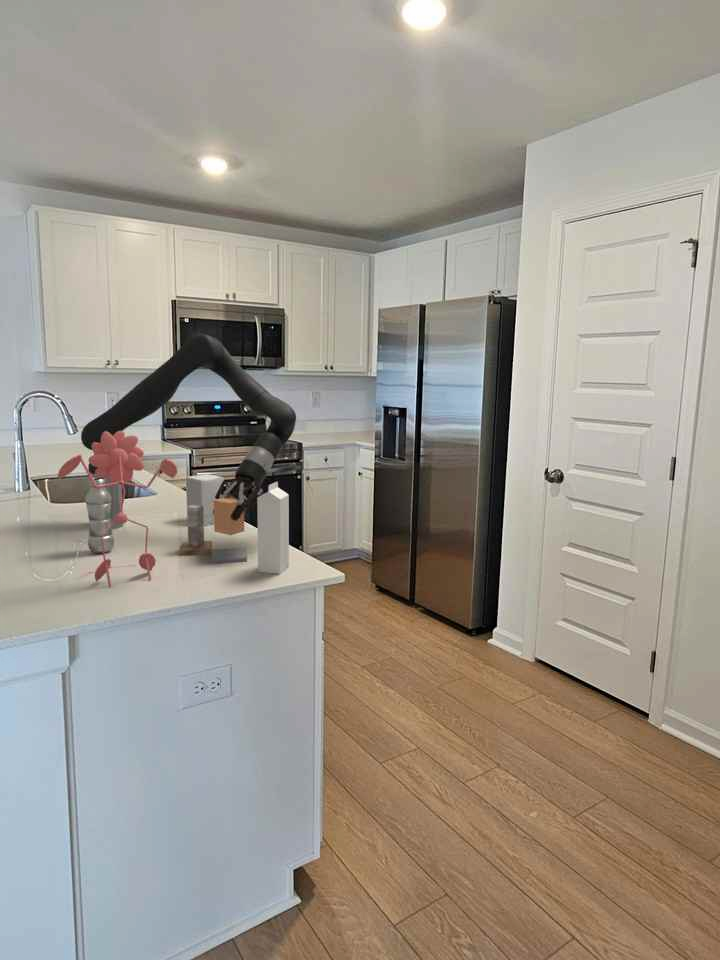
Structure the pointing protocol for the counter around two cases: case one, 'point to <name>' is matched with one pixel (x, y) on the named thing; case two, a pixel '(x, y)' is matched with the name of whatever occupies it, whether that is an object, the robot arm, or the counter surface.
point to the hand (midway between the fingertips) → (224, 517)
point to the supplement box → (203, 493)
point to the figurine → (117, 464)
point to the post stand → (195, 533)
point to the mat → (229, 555)
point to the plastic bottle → (99, 517)
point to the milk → (273, 530)
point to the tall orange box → (227, 516)
